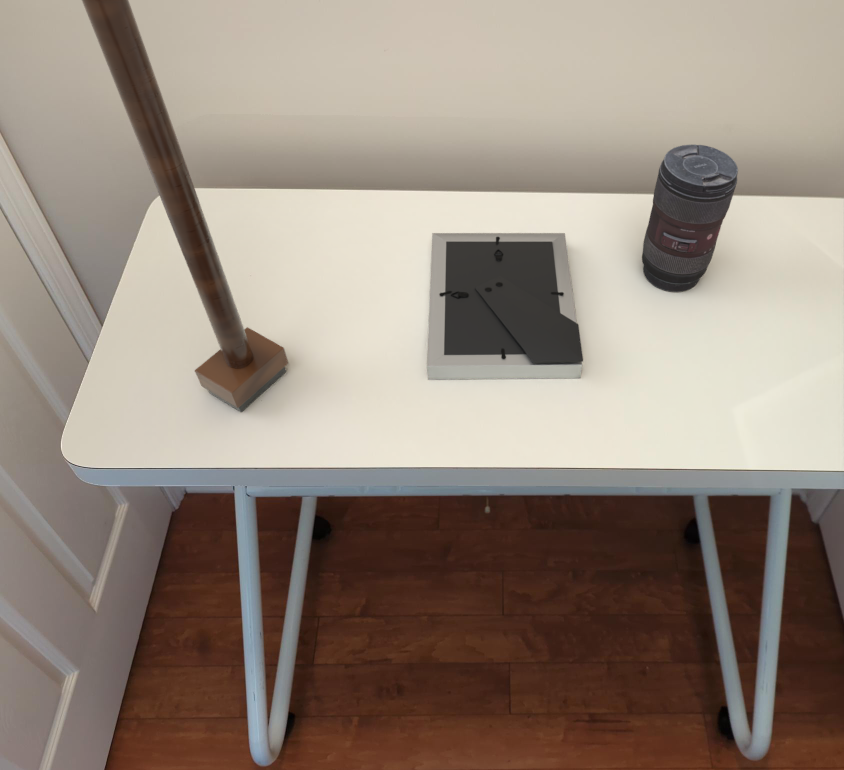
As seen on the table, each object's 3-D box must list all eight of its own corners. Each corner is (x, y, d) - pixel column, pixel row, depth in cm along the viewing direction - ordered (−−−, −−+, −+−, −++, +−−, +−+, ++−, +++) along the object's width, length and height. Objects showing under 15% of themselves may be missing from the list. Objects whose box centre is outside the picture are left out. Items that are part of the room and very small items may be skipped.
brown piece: (241, 416, 73) (66, -10, 42) (204, 393, 75) (11, -33, 44) (291, 370, 77) (164, -50, 46) (255, 350, 79) (110, -70, 48)
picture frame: (580, 378, 78) (563, 246, 91) (583, 360, 76) (565, 227, 89) (427, 379, 77) (433, 246, 90) (426, 361, 75) (431, 227, 88)
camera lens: (720, 282, 88) (757, 173, 76) (665, 305, 85) (694, 196, 74) (677, 242, 92) (706, 133, 81) (624, 263, 89) (645, 153, 78)
